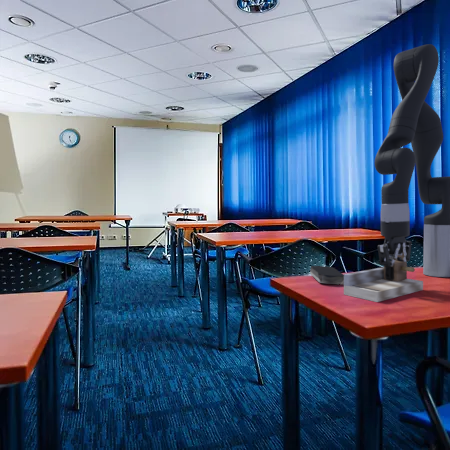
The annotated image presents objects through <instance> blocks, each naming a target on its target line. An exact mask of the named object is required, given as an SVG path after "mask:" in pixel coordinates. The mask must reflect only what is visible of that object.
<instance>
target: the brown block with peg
mask: <svg viewBox="0 0 450 450" xmlns="http://www.w3.org/2000/svg"><path fill="white" fill-rule="evenodd" d="M390 262H391V260H390ZM407 262H408V261H407ZM407 262H403V261H396V260H395V262H394V280H390V281H396V282H398V281H402V280H405V279H408V278H407V277H408V276H407V275H408V273H407V272H410V273H413V272H415V271H416V269H415V268H414V267H412V266H408V265H407ZM383 267H384V280H387V279H386V276H385V266H384V265H383Z"/></svg>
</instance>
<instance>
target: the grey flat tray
mask: <svg viewBox="0 0 450 450" xmlns="http://www.w3.org/2000/svg"><path fill="white" fill-rule="evenodd" d="M343 275H344V285H343V295H345V296H349V297H353V298H357V299H362V300H365V301H371V302H373V303H374V302H375V303H379V302H383V301H387V300H391V299H394V298H398V297H402V296H405V295H409V294H412V293H418V292H419V291H423V290H424V280H419V279H412V278H407V279H405V280H402V281H398V282H396V281H390V280H384V266H383V267H377V268H372V269H371V268H370V269H365V270H361V271H355V272H349V273H344V274H343Z"/></svg>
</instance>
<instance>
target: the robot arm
mask: <svg viewBox="0 0 450 450" xmlns="http://www.w3.org/2000/svg"><path fill="white" fill-rule="evenodd" d="M439 57H440V56H439V52H438V49H437V48H436V46H435V45H433V44H431V43H429V44H423V45H419V46H417V47H413V48H409V49H406V50H403V51H401V52H398V53H397V54H396V55H395V57H394V59H393V71H394V72H393V74H394V77H395V81H396V84H397V88H398V90H399V94H400V95H399V96H400V98H401V101H400V103H399V104H398V105H397V106H396V108H395V110H394V111H393V113H392V115H391V119H390V122H389V127H388V130H387V135H386V136H385V138H384V139H383V141H382V144H381V145H380V146H379V148H378V150H377V152H376V155H375V158H374V168H375V170H376V172H377V173H378V174H379V175H381V176H382V175H383V176H386V175H387V176H388V175H395V177H394V179H393V181H389V182H386V183H384V184H383V185H382V186H381V189H380V190H381V199H380V201H381V205H380V206H381V207H380V236H382V237H384V242H383V244H378V245H377V253H378V261H379V265H380V266H383V267H384V266H385V276H386V279H387V280H394V262H395V261H403V262H410V260H411V253H412V245H413V244H412V241H411V240H406V238H407V237H409V236H410V231H411V229H410V228H411V227H410V225H411V224H410V222H411V221H410V220H411V219H410V205H409V188H410V185H411V181H412V177H413V174H414V171H415V169H416V177H417V180H416V181H417V189H418V196H419V198H420V201H421V203H423V204H425V205H441V208H440V209H439V210H438V211H436V212H433V213H431V214H428V215H425V216H424V218H423V259H422V260H423V263H422V265H423V266H422V267H423V268H422V274H423V275H426V276H430V277H439V278H450V176H449V175H448V176H435V177H432V174H431V167H432V164H433V161H434V160H435V157H436V155H437V154H438V151H439V150H440V148H441V146H442V143H443V141H444V132H443V126H442V121H441V118H440V116H439V114H438V112H437V111H436V110H434V108H433V107H432V106H431V105H430V104H428V103H427V102H426V101H425V100H426V99H427V96H428V93H429V91H430V89H431V86H432V84H433V81H434V79H435V76H436V75H437V71H438V68H439V61H440V60H439ZM409 144H411V148H409V147H405V146H407V145H409ZM390 261H391V262H390Z"/></svg>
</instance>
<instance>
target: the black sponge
mask: <svg viewBox="0 0 450 450" xmlns="http://www.w3.org/2000/svg"><path fill="white" fill-rule="evenodd" d="M309 271H310V272H309V275H311V276H312V278H314V279H315V280H316V281H317V282H319V283H320V284H328V285H339V284H340V285H343V286H344V274H343V273H342V272H341V271H339V270H338V269H336V268H335V267H332V266H324V265H311V266H310V270H309Z"/></svg>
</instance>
